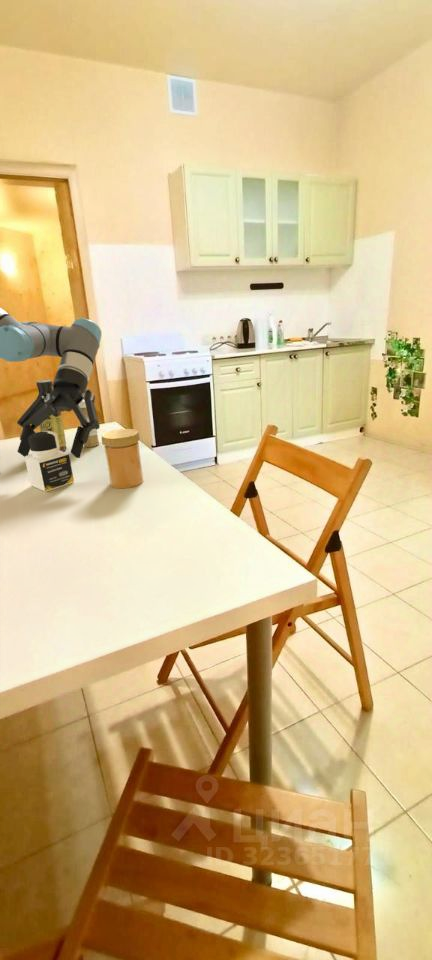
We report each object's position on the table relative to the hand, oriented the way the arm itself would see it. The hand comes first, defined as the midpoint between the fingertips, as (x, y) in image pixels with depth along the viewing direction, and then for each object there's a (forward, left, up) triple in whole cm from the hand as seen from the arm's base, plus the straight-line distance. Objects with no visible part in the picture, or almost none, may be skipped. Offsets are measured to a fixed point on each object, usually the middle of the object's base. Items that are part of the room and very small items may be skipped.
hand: (48, 455), depth 100 cm
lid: (+16, +7, +4) cm, 18 cm away
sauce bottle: (-21, +20, -7) cm, 30 cm away
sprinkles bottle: (-15, +28, -7) cm, 32 cm away
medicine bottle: (0, 0, -7) cm, 7 cm away
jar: (+16, +7, -7) cm, 19 cm away
